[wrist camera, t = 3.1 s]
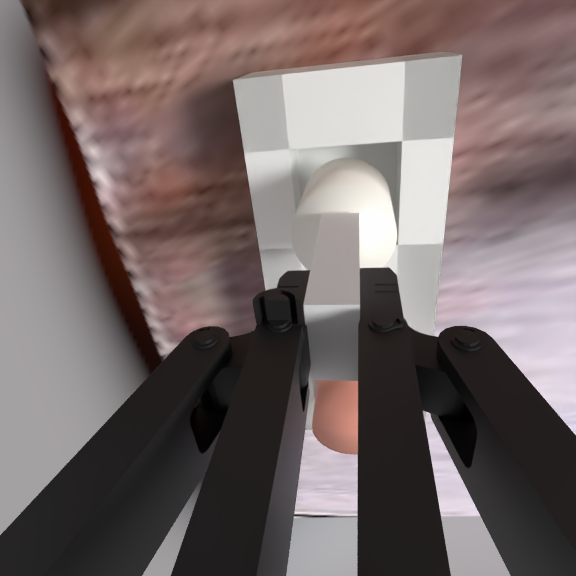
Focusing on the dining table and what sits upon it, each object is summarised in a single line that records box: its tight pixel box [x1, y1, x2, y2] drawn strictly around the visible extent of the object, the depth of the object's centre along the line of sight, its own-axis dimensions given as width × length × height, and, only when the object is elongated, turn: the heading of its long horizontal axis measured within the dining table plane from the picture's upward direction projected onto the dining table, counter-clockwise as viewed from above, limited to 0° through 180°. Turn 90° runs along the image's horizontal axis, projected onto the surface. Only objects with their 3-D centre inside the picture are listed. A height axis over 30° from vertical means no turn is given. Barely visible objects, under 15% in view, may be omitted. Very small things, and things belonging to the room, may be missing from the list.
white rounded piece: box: [291, 158, 397, 270], centre depth 19 cm, size 4×4×4 cm
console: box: [233, 51, 462, 430], centre depth 26 cm, size 24×10×4 cm, turn 6°
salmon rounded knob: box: [312, 380, 358, 454], centre depth 25 cm, size 4×4×4 cm
